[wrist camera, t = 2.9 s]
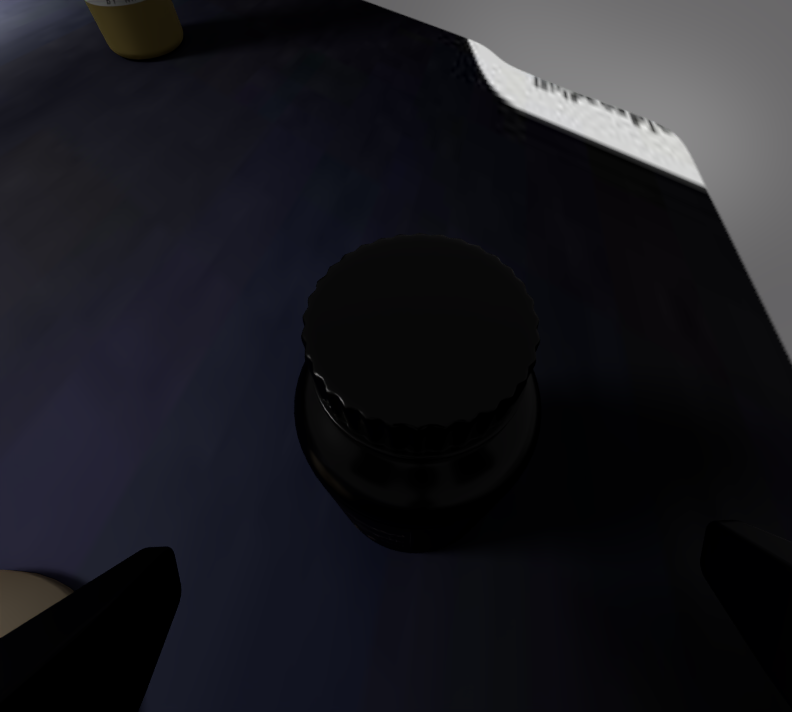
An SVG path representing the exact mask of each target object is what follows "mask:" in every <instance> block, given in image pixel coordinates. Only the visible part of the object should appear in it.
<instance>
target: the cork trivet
mask: <svg viewBox="0 0 792 712" xmlns="http://www.w3.org/2000/svg"><path fill="white" fill-rule="evenodd" d="M73 592H74V591H73V590H72V589H71V588H70V587H68V586H66V585H64V584H62V583H61V582H59V581H57V580H55V579H52V578H49V577H46V576H43V575H40V574H37V573H30V572H23V571H12V570H0V638H1V637H3V636H4V635H6V634H8V633H9V632H11V631H12V630H14V629H16V628H17V627H19V626H20V625H22V624H23V623H25V622H27V621H28V620H30V619H31V618H33V617H35V616H36V615H38V614H39V613H41V612H43V611H44V610H46V609H47V608H49V607H51V606H52V605H54V604H55V603H57V602H59V601H60V600H62V599H63V598H65V597H67V596H68V595H70V594H71V593H73Z"/></svg>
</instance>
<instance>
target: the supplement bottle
mask: <svg viewBox="0 0 792 712" xmlns="http://www.w3.org/2000/svg"><path fill="white" fill-rule="evenodd" d="M533 308H534V300H533V299H532V298H531V297H530V296H529V295H528V294H527V293H526V287H525V284H524V283H523V282H522V281H521V280H519V279H518V278H516V277H515V275H514V272H513V270H512V269H511V268H510V267H508V266H506V265H504V264H502V263H501V262H500V260H499V258H498V257H497V256H495V255H492V254H489V253H486V252H485V251H484V250H483V249H482V248H481V247H480V246H476V245H471V244H468V243H466V242H465V241H463V240H461V239H452V238H447V237H445V236H443V235H431V236H430V235H426V234H422V233H419V234H414V235H401V234H400V235H397V236H395V237H393V238H381V239H379V240H377V241H375V242H374V243H372V244H365V245H361V246H360V247H359V248H358V249H357V250H356V251H354V252H351V253H348V254H345V255H344V256H343V257H342V259H341V260H340V262H338V263H336V264H334V265H332V266H331V267H330V268H329V269H328V272H327V274H326V275H325V276H324V277H323V278H321V279H320V280H319V281H317V285H316V290H315V291H314V292H313V293H312V294H311V295H310V296H309V298H308V308H307V310H306V311H305V313H304V315H303V323H304V329H303V332H302V335H301V339H302V342H303V345H304V347H305V362H304V365H303V367H302V369H301V372H300V375H299V378H298V382H297V386H296V392H295V400H294V417H295V426H296V431H297V436H298V439H299V442H300V445H301V448H302V451H303V453H304V455H305V457H306V460H307V462H308V463H309V465H310V467H311V469H312V470H313V472H314V474H315V475H316V477H317V478H318V479H319V481H320V482H321V483H322V485H323V486H324V487H325V489H326V490H327V491H328V493H329V494H330V495H331V496H332V498H333V499H334V500H335V501H336V503H337V504H338V505H339V506H340V508H341V509H342V510H343V512H344V513H345V514H346V515H347V517H348V518H349V519H350V520H351V522H352V523H353V524H354V525H355V526H356V527H357V528H358V529H359V530H360V531H361V532H362V533H363V534H364V535H366V536H367V537H368V538H370V539H371V540H372V541H374V542H376V543H378V544H379V545H382V546H384V547H386V548H389V549H392V550H395V551H400V552H406V553H424V552H431V551H435V550H438V549H441V548H444V547H446V546H448V545H451V544H453V543H454V542H456V541H457V540H459V539H460V538H462V537H463V536H464V535H465V534H467V533H468V532H469V531H470V530H471V529H472V528H473V527H474V526H475V525H476V524H477V523H478V522H479V521H480V520H481V519H482V518H483V517H484V516H485V515H486V514H487V513H488V512H489V511H490V510H491V509H492V508H493V507H494V506H495V505H496V504H497V503H498V502H499V501H500V500H501V499H502V498H503V497H504V496H505V495H506V494H507V493H508V491H509V490H510V489H511V488H512V487H513V486H514V484H515V483H516V482H517V481H518V479H519V478H520V476H521V475H522V473H523V471H524V470H525V468H526V467H527V465H528V463H529V461H530V459H531V457H532V455H533V452H534V450H535V447H536V444H537V440H538V436H539V432H540V424H541V398H540V392H539V387H538V383H537V379H536V376H535V373H534V371H533V368H534V366H535V363H536V353H535V352H536V350H537V348H538V346H539V343H540V338H539V334H538V331H537V328H538V324H539V318H538V316H537V315H536V313H535V312H534V310H533Z"/></svg>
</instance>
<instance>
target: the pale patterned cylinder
mask: <svg viewBox="0 0 792 712" xmlns="http://www.w3.org/2000/svg"><path fill="white" fill-rule="evenodd" d="M85 2H86V4H87V6H88V8H89V9H90V11H91V13H92V15H93V17H94V19H95V21H96V23H97V25H98V26H99V28H100V30H101V32H102V34H103V36H104V38H105V40H106V42H107V43H108V45H109V47H110V48H111V49H112V50H113V51H114V52H115V53H116V54H118V55H120V56H122V57H125V58H128V59H137V60H141V59H151V58H156V57H160V56H163V55H165V54H168V53H170V52H172V51H173V50H175V49H176V48H177V47H178V46H179V45H180V44H181V42H182V40H183V29H182V27H181V24H180V21H179V19H178V16H177V14H176V11H175V8H174V6H173V3H172V1H171V0H85Z"/></svg>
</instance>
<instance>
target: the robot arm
mask: <svg viewBox="0 0 792 712" xmlns="http://www.w3.org/2000/svg"><path fill="white" fill-rule="evenodd" d="M700 566H701V570H702V573H703V575H704V577H705V579H706V581H707V582H708V584H709V585H710V587H711V588H712V590H713V592H714V593H715V595H716V596H717V598H718V599H719V601H720V603H721V604H722V606H723V607H724V609H725V610H726V612H727V613H728V615H729V617H730V618H731V620H732V621H733V623H734V624H735V626H736V628H737V629H738V631H739V632H740V634H741V635H742V637H743V638H744V640H745V642H746V643H747V645H748V646H749V648H750V649H751V651H752V653H753V654H754V656H755V657H756V659H757V660H758V662H759V663H760V665H761V666H762V668H763V669H764V671H765V672H766V674H767V675H768V677H769V678H770V680H771V681H772V682H773V684H774V685H775V686H776V688H777V689H778V691H779V692H780V693H781V695H782V696H783V698H784V699H785V700H786V702H787V703H788V704H789V706H790V707H791V708H792V542H790V541H788V540H785V539H783V538H780V537H778V536H775V535H773V534H770V533H768V532H766V531H763V530H761V529H758V528H756V527H753V526H751V525H748V524H746V523H744V522H741V521H737V520H719V521H712V522H710V523H709V524H708V526H707V527H706V531H705V537H704V542H703V548H702V553H701V558H700ZM180 598H181V583H180V578H179V573H178V568H177V564H176V559H175V554H174V551H173V550H172V549H171V548H170V547H148V548H144V549H142V550H140V551H138V552H137V553H135V554H134V555H132V556H130V557H129V558H127V559H126V560H124V561H122V562H121V563H119V564H118V565H116V566H114V567H113V568H111V569H110V570H108V571H106V572H105V573H103V574H102V575H100V576H98V577H97V578H95V579H94V580H92V581H90V582H89V583H87V584H86V585H84V586H82V587H81V588H79V589H78V590H76V591H75V592H73V593H71V594H70V595H68V596H67V597H65V598H63V599H62V600H60V601H59V602H57V603H55V604H54V605H52V606H51V607H49V608H47V609H46V610H44V611H43V612H41V613H39V614H38V615H36V616H35V617H33V618H31V619H30V620H28V621H27V622H25V623H23V624H22V625H20V626H19V627H17V628H16V629H14V630H12V631H11V632H9V633H8V634H6V635H4V636H3V637H1V638H0V712H138V710H139V708H140V706H141V703H142V701H143V698H144V696H145V693H146V691H147V688H148V685H149V683H150V680H151V677H152V675H153V672H154V669H155V667H156V664H157V661H158V659H159V656H160V653H161V650H162V648H163V645H164V642H165V640H166V637H167V634H168V632H169V629H170V626H171V624H172V621H173V618H174V616H175V613H176V610H177V608H178V605H179V602H180Z"/></svg>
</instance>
